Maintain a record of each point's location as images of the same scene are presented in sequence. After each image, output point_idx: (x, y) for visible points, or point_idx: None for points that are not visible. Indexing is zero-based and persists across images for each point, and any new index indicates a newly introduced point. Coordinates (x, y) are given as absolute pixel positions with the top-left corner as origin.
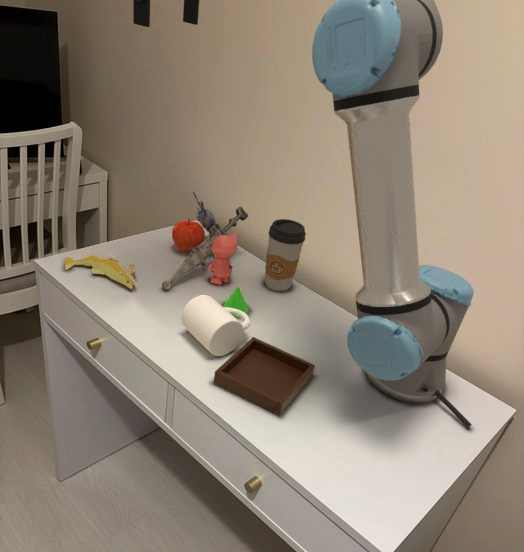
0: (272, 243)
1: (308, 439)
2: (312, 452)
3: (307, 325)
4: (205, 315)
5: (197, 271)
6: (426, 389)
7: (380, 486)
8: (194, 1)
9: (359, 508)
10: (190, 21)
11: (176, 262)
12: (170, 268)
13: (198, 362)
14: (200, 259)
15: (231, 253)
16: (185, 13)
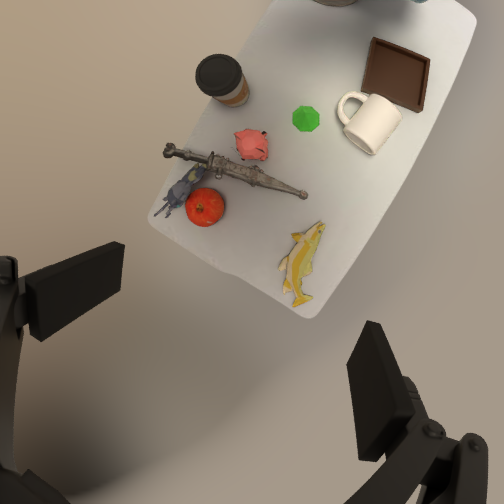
0: (237, 88)
1: (435, 45)
2: (443, 43)
3: (297, 52)
4: (387, 126)
5: None
6: None
7: (444, 10)
8: (83, 271)
9: (464, 24)
10: (119, 265)
11: (243, 205)
12: (259, 206)
13: (400, 130)
14: (257, 172)
15: (260, 132)
16: (107, 291)
